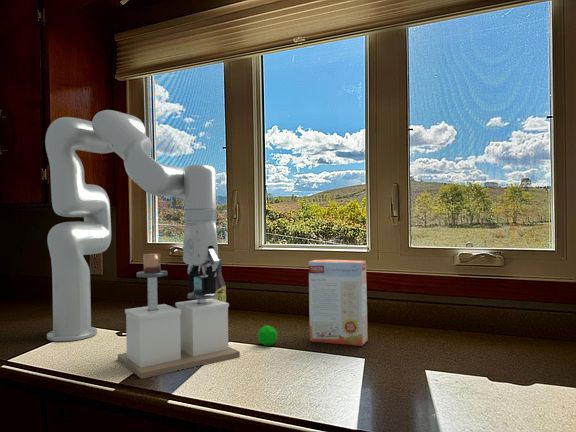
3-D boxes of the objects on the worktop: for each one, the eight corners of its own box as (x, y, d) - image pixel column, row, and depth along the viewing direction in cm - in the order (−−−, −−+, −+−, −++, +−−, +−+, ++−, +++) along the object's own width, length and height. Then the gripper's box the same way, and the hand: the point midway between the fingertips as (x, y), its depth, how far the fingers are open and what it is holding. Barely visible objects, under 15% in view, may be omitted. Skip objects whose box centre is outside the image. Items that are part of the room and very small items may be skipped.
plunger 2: (183, 336, 111) (182, 276, 111) (208, 332, 114) (207, 274, 114) (195, 342, 105) (194, 279, 105) (221, 337, 109) (220, 276, 109)
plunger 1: (133, 318, 103) (132, 254, 103) (161, 314, 107) (160, 252, 107) (143, 323, 98) (142, 256, 98) (172, 319, 102) (171, 254, 102)
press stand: (117, 359, 106) (116, 307, 106) (208, 342, 120) (207, 295, 120) (141, 378, 93) (140, 319, 93) (239, 356, 107) (238, 305, 107)
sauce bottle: (221, 329, 133) (220, 260, 133) (201, 328, 134) (200, 260, 134) (229, 324, 139) (228, 258, 139) (209, 323, 140) (208, 258, 140)
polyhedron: (280, 343, 117) (280, 325, 117) (271, 348, 113) (271, 329, 113) (264, 341, 120) (263, 323, 120) (254, 346, 115) (253, 327, 115)
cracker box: (368, 341, 119) (367, 259, 119) (362, 347, 113) (361, 262, 113) (316, 336, 124) (315, 258, 124) (309, 341, 118) (307, 260, 118)
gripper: (171, 217, 115) (172, 289, 115) (202, 217, 101) (203, 298, 101) (199, 217, 119) (200, 286, 119) (232, 216, 105) (233, 294, 105)
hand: (201, 291), depth 110 cm, fingers open, 6 cm apart
